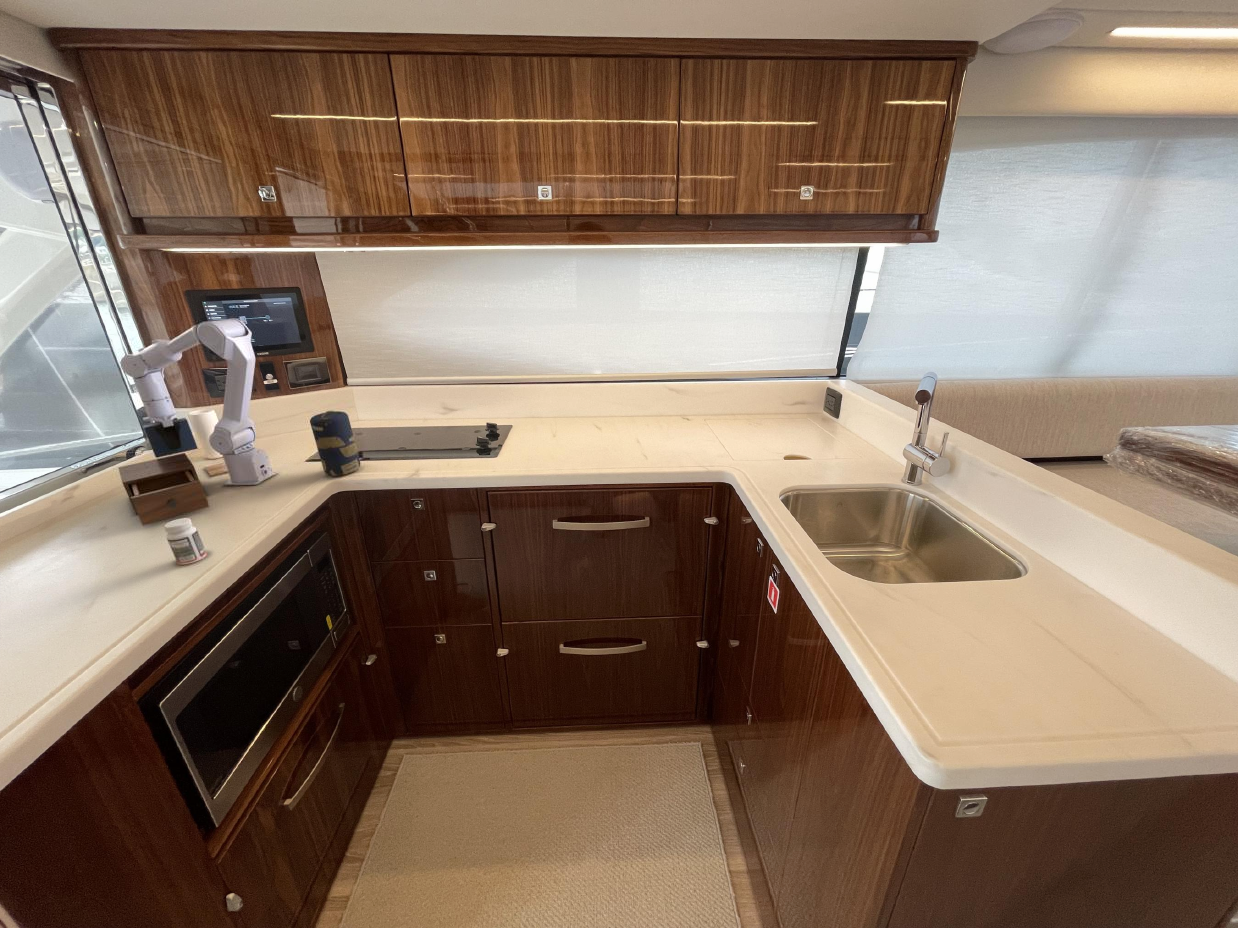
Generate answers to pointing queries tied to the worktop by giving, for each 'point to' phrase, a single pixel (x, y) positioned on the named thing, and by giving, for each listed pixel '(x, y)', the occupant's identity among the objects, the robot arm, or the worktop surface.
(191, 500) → the drawer
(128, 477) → the wooden box
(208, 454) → the white tapered cylinder
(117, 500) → the worktop surface
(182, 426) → the book
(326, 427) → the canister
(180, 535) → the pill bottle
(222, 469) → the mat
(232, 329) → the robot arm
